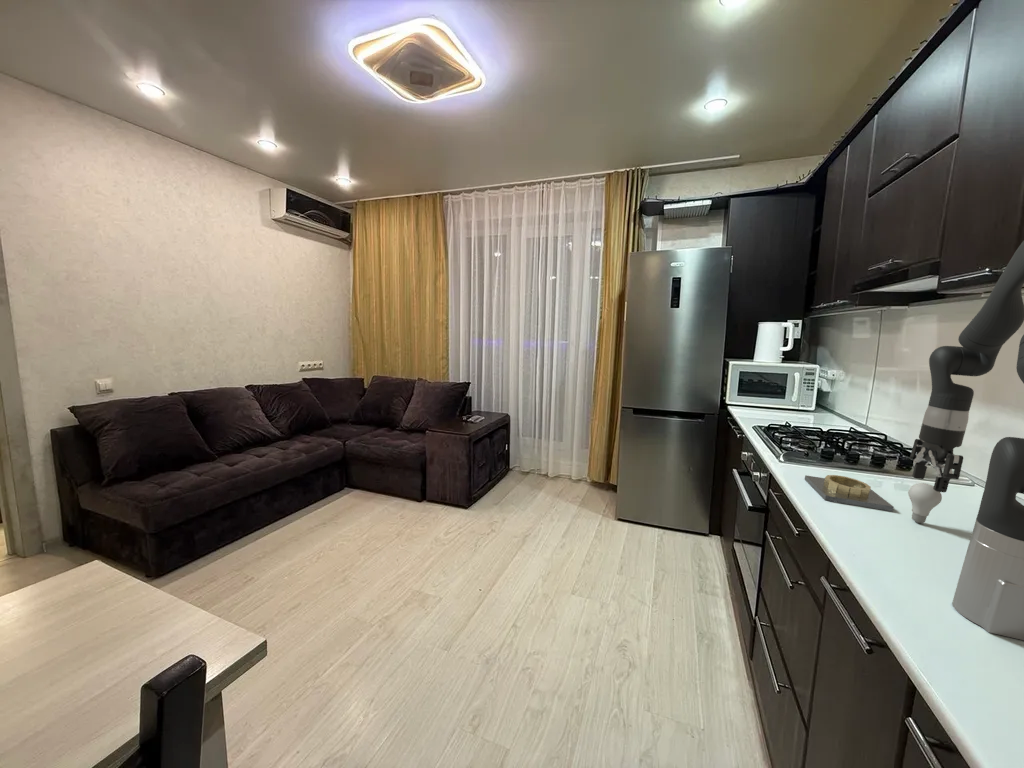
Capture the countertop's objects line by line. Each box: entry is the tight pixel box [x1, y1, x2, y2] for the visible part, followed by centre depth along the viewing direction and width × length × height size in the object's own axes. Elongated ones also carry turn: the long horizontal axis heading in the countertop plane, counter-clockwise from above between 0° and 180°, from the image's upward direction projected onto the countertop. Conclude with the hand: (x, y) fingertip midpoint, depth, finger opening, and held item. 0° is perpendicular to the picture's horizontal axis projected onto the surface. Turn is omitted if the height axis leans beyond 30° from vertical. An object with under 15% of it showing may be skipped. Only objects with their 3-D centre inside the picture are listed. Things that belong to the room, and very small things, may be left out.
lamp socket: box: [803, 474, 895, 512], centre depth 119 cm, size 16×16×4 cm
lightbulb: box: [907, 482, 943, 524], centre depth 103 cm, size 6×6×11 cm
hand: (928, 484), depth 102 cm, fingers open, 8 cm apart
